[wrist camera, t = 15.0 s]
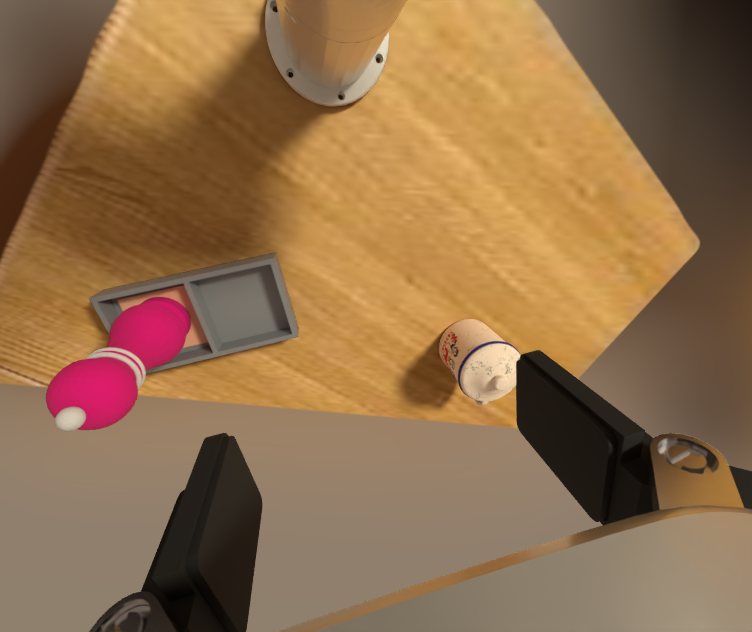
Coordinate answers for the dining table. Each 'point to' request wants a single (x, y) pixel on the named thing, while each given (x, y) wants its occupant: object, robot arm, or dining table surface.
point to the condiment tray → (215, 307)
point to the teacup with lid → (479, 360)
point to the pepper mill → (118, 366)
